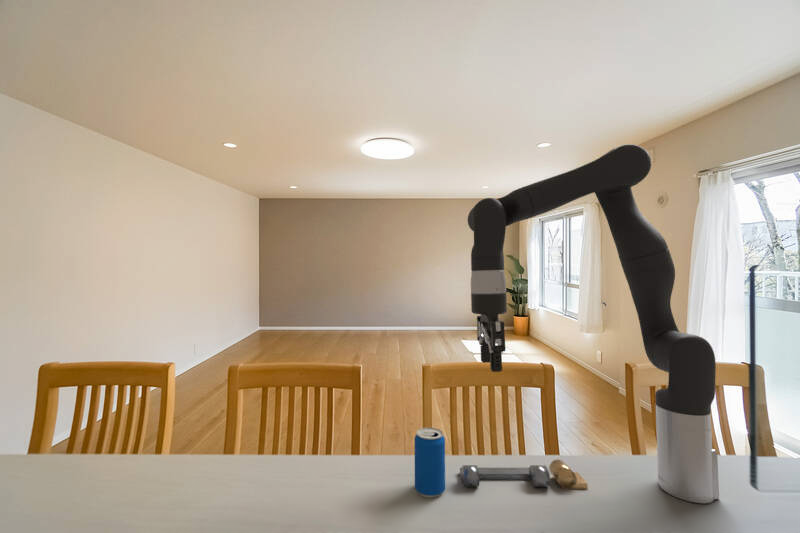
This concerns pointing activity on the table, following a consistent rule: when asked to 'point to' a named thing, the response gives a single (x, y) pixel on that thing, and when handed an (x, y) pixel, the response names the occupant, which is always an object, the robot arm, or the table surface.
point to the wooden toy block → (566, 476)
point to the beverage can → (429, 462)
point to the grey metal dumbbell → (505, 474)
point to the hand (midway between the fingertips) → (490, 366)
